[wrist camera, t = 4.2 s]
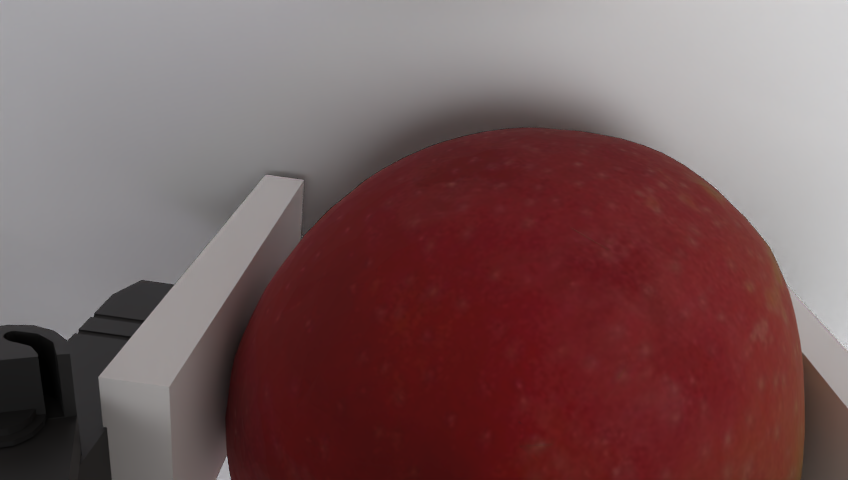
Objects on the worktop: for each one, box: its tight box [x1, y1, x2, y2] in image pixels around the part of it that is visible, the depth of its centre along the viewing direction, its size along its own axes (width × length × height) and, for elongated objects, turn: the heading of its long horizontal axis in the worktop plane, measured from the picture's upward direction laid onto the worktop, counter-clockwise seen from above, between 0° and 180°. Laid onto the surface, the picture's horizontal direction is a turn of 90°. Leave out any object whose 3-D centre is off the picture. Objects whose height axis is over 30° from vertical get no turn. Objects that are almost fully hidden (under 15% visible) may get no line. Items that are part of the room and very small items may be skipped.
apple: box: [225, 127, 805, 480], centre depth 10 cm, size 8×8×8 cm
